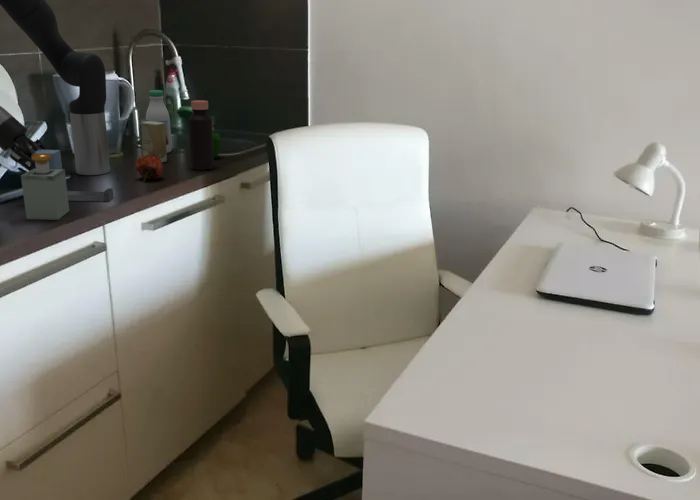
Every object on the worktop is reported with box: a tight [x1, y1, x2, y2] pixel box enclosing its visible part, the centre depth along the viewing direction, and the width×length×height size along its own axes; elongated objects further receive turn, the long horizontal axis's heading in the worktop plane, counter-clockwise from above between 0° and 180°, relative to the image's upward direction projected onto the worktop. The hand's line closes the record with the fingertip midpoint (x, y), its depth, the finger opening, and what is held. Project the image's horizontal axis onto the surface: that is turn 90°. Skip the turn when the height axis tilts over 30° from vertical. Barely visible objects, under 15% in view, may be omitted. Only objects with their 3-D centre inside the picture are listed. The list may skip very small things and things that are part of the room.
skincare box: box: [140, 120, 168, 163], centre depth 211 cm, size 6×4×12 cm
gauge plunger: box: [31, 153, 51, 175], centre depth 153 cm, size 4×4×7 cm
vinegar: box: [188, 99, 215, 171], centre depth 203 cm, size 7×7×20 cm
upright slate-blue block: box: [35, 149, 63, 169], centre depth 168 cm, size 6×5×12 cm
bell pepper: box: [212, 127, 222, 159], centre depth 218 cm, size 8×8×10 cm
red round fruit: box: [135, 154, 164, 183], centre depth 190 cm, size 7×7×10 cm
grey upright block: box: [20, 168, 70, 221], centre depth 155 cm, size 7×7×10 cm
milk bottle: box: [145, 89, 173, 154], centre depth 224 cm, size 8×8×20 cm
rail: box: [67, 188, 114, 202], centre depth 170 cm, size 4×20×2 cm, turn 92°
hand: (57, 176), depth 168 cm, fingers closed on upright slate-blue block, 4 cm apart
